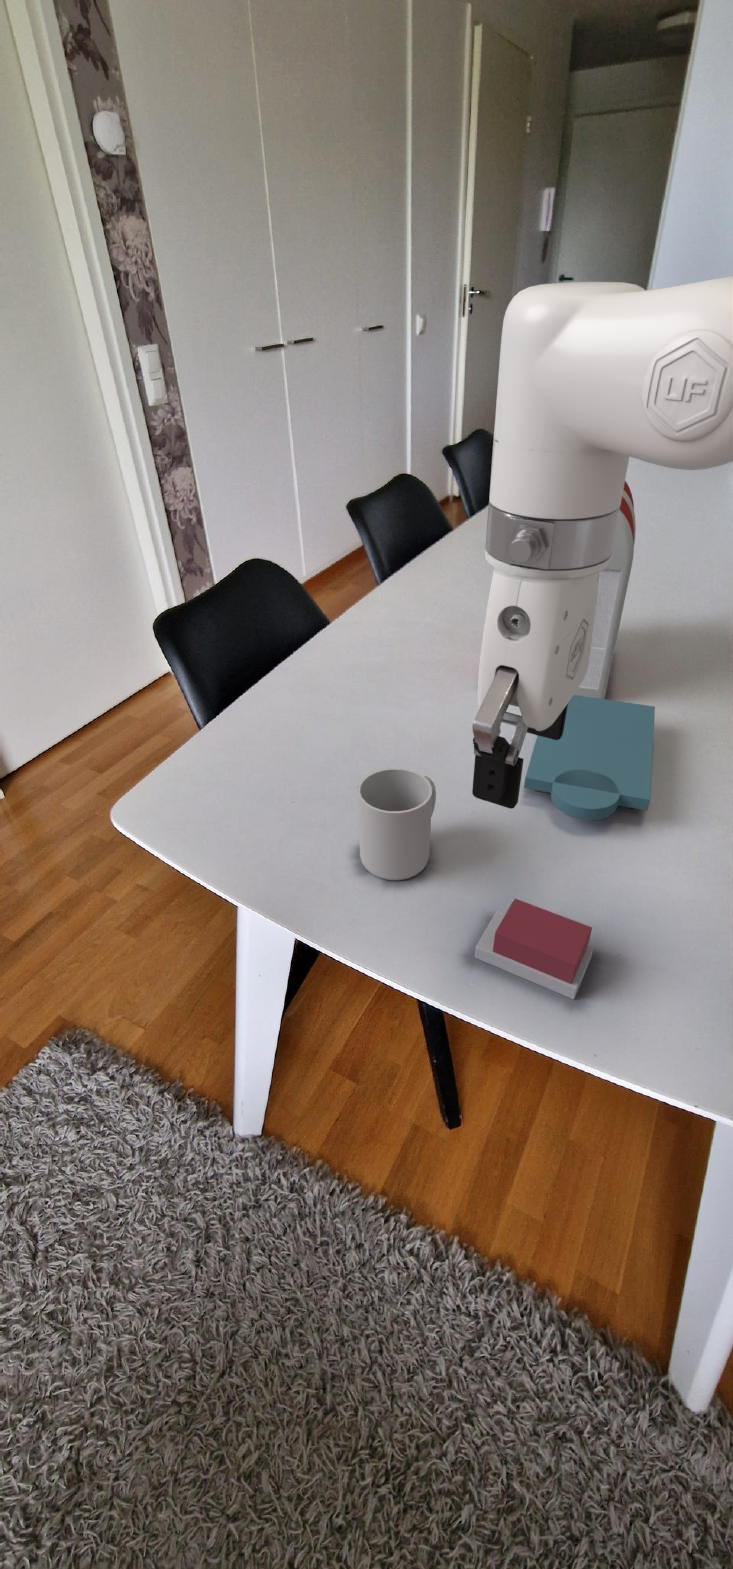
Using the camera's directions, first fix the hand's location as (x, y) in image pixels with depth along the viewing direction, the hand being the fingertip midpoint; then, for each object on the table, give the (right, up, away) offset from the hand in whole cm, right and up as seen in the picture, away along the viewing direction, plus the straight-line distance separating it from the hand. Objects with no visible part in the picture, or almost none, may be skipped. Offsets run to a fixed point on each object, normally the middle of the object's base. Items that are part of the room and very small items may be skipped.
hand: (519, 765), depth 53 cm
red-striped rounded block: (+16, +16, +53) cm, 57 cm away
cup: (-8, -9, +21) cm, 24 cm away
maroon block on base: (+3, -17, +10) cm, 20 cm away
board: (+15, 0, +31) cm, 35 cm away
